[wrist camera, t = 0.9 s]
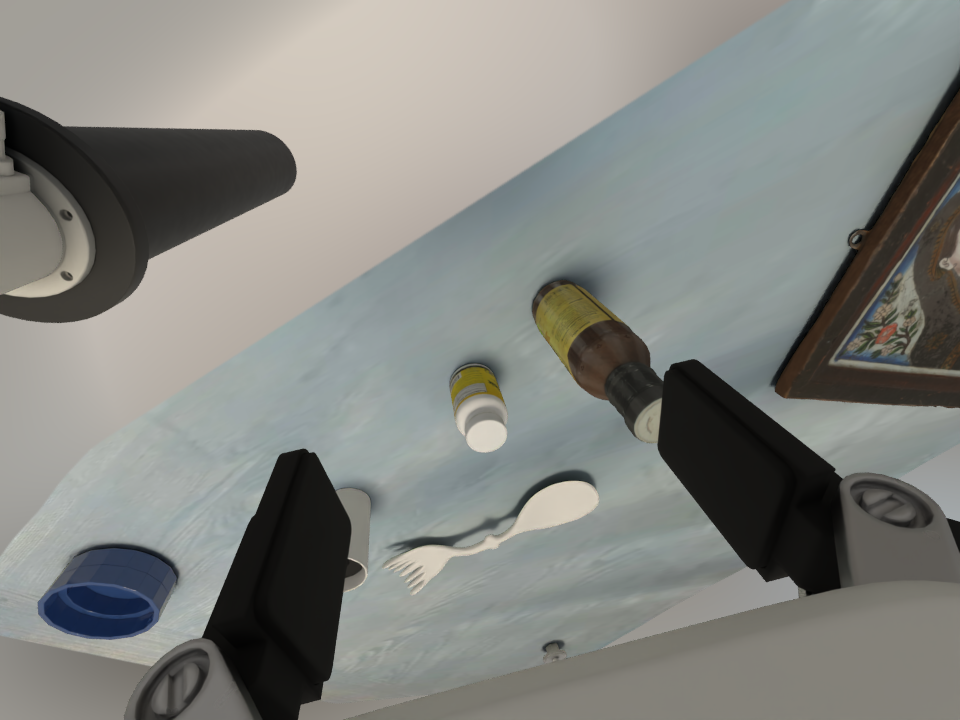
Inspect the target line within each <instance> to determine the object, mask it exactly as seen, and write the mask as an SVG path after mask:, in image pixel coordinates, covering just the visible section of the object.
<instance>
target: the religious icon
mask: <svg viewBox="0 0 960 720" xmlns="http://www.w3.org/2000/svg"><path fill="white" fill-rule="evenodd" d="M859 234H861V235H862V240H861V242H859V243H857V244H853V243H852V239H853V238H854V237H855V236H856V235H859ZM849 244H850V247H852V248H854V249H857V250H858V253H857V254H856V256H855V258H854V259H853V261H852V263H851V264H850V266H849V267H848V269H847V271H846V273H845V274H844V276H843V278H842V279H841V281H840V282H839V284H838V285H837V287H836V289H835V290H834V292H833V294H832V296H831V298H830V299H829V301H828V302H827V304H826V305H825V307H824V309H823V311H822V312H821V314H820V316H819V317H818V319H817V320H816V322H815V323H814V325H813V326H812V328H811V329H810V330H809V332H808V334H807V335H806V336H805V338H804V340H803V341H802V342H801V344H800V345H799V347H798V348H797V350H796V351H795V353H794V355H793V356H792V358H791V359H790V361H789V363H788V364H787V366H786V367H785V369H784V371H783V372H782V374H781V376H780V378H779V380H778V382H777V384H776V387H775V392H776V393H777V394H779V395H780V396H782V397H783V398H793V399H814V400H822V401H842V402H852V403H867V404H883V405H902V406H904V405H905V406H934V407H937V406H943V407H946V408H955V407H956V408H960V89H959V91H958V93H957V94H956V95H955V97H954V99H953V100H952V102H951V103H950V105H949V106H948V108H947V109H946V111H945V112H944V114H943V115H942V117H941V119H940V121H939V122H938V124H937V125H936V126H935V128H934V129H933V131H932V132H931V133H930V135H929V139H928V140H927V142H926V143H925V145H924V147H923V148H922V150H921V151H920V152H919V154H918V155H917V156H916V158H915V159H914V161H913V162H912V164H911V166H910V168H909V170H908V171H907V173H906V175H905V176H904V178H903V180H902V182H901V184H900V185H899V186H898V188H897V190H896V191H895V193H894V194H893V196H892V198H891V199H890V201H889V203H888V205H887V206H886V208H885V210H884V212H883V213H882V215H881V216H880V218H879V219H878V220H877V222H876V224H875V225H874V226H873V228H872V229H871V230H869V231H866V230H858V231H856V232H854V233H853V235H852V236H851V237H850V242H849Z"/></svg>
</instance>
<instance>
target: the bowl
mask: <svg viewBox="0 0 960 720" xmlns="http://www.w3.org/2000/svg"><path fill="white" fill-rule="evenodd" d="M176 580H177V577H176V575H175V574H174V572H173V570H172V568H171V567H170V566H168V565H167V564H166V563H164V562H163V561H161V560H160V559H158V558H156V557H154V556H152V555H150V554H147V553H144V552H141V551H136V550H131V549H119V548H109V549H99V550H91V551H88V552H86V553H83V554H81V555H78V556H76V557H74V558H73V559H72V560H71V562H70V563H69V564H68V565H67V566H66V567H65V568H64V570H63V571H62V572H61V573H60V575H59V576H58V577H57V578H56V580H55V581H54V582H53V584H52V585H51V586H50V587H49V588H48V590H47V591H46V592H45V594H44V595H43V596H42V597H41V599H40V600H39V601H38V614H39V615H40V616H41V617H42V619H43V620H44V621H45V622H46V623H47V624H48V625H50V626H52V627H54V628H56V629H58V630H60V631H62V632H64V633H67V634H71V635H75V636H79V637H84V638H89V639H108V640H112V639H120V638H127V637H133V636H136V635H138V634H141V633H143V632H146V631H148V630H149V629H150V628H151V627H153V626H154V625H155V624H156V623H157V622H158V620H159V619H160V617H161V615H162V613H163V611H164V609H165V607H166V605H167V603H168V601H169V599H170V597H171V595H172V593H173V591H174V589H175V586H176Z"/></svg>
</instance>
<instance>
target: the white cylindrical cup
mask: <svg viewBox="0 0 960 720" xmlns="http://www.w3.org/2000/svg"><path fill="white" fill-rule="evenodd" d="M336 493H337V495H338V497H339V499H340V501H341V503H342V505H343V506H344V508H345V510H346V512H347V514H348V516H349V518H350V521H351V526H352V533H351V540H350V547H349V555H348V562H347V569H346V576H345V583H344V590H343V592H348V591H350V590H353V589H356V588H357V587H359V586H360V585H361V584H363V583H364V581H365V579H366V578H367V573H368V552H369V531H370V511H371V501H370V498H369V496H368V495H367V494H366V493H364V492H363V491H361V490H358V489H354V488H343V489H339V490H337V491H336Z"/></svg>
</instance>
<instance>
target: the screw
mask: <svg viewBox="0 0 960 720" xmlns="http://www.w3.org/2000/svg"><path fill="white" fill-rule="evenodd" d="M546 651H547V654H546V655H545V656H544V657H543V661H544V663H546V664H548V663H551V662H555V661H559V660H563V659H565V658H566V656H567V654H566V652H565V651H564V650H560V649H559V646H558V645H557V643H553V644H549V645H548V646H547V647H546Z"/></svg>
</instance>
